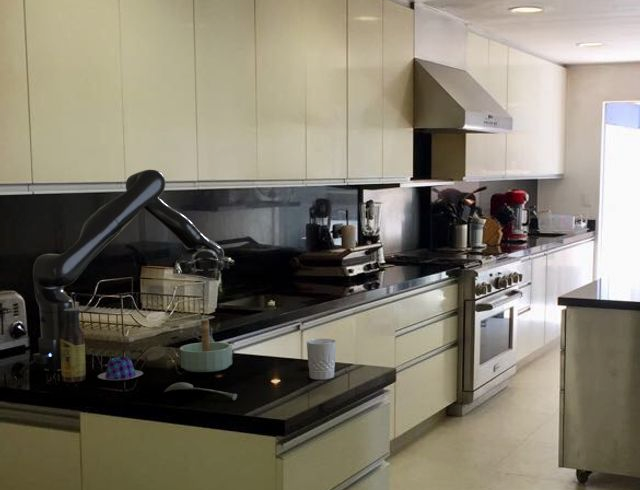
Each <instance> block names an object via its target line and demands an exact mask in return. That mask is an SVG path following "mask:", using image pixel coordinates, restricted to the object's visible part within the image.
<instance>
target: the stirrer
mask: <svg viewBox="0 0 640 490" xmlns="http://www.w3.org/2000/svg"><path fill="white" fill-rule="evenodd" d="M200 320H201V321H200V326H201V327H200V329H201V330H200V333H201V335H202V336H201V341H202V342H201V343H202V351H210V336H211V335H210V326H209V325H210V320H209V319H200ZM209 335H210V336H209Z"/></svg>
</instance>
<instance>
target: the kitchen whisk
mask: <svg viewBox="0 0 640 490" xmlns="http://www.w3.org/2000/svg"><path fill="white" fill-rule="evenodd" d="M196 322H197V324H198V326H196V325H192V326H191V328H192V329H193V331H192V336H193V337H194V338H196V339H197V340H198V341H199V343H202V340H200V338H199V337H198V336H195V335H194V332H196V333H197V334H199V335H200V336H201V337H202V333H201V334H200V333H199V331H201V323H199V321H196ZM194 327H195V328H194ZM209 327H210V328H211V329H213V328H212V326H211V325H210V324H209ZM197 330H198V331H197ZM209 336H210V342H216V341H215V339H213V331H211V332H210V334H209Z"/></svg>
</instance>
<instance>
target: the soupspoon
mask: <svg viewBox="0 0 640 490" xmlns="http://www.w3.org/2000/svg"><path fill="white" fill-rule="evenodd" d="M176 390H189V391H201V392H202V391H203V392H208V393H209V392H210V393H216V394H221V395H224V396H225V397H226V396H227V397H228V398H230V399H231V400H232V401H236V400H237V398H238V394H237V393H231V392H227V391H226V392H225V391H221V390H214V389H208V388H202V387H194V385H193V384H191V383H189V382H184V381H183V382H181V381H180V382H176V383H173V384H171V385H169V386H168V387H166V389H165V390H164V391H163V393H167V392H170V391H176Z"/></svg>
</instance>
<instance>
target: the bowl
mask: <svg viewBox="0 0 640 490" xmlns="http://www.w3.org/2000/svg"><path fill="white" fill-rule="evenodd" d="M233 360H234V359H233V345H232V344H230V343H228V342H222V341H221V342H220V341H215V342H210V351H202V342H194V343H189V344H188V343H187V344H184V345H181V346H180V347H179V366H180V368H182V369H183V370H185V371H186V372H192V373H210V372H211V373H212V372H219V371H223V370H226V369H228V368H229V367H231V365H233V363H234V362H233Z"/></svg>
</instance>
